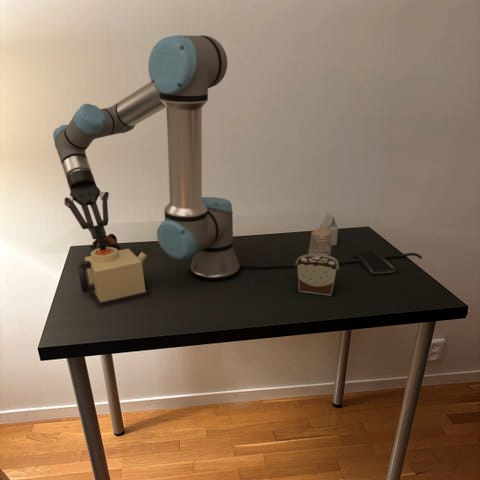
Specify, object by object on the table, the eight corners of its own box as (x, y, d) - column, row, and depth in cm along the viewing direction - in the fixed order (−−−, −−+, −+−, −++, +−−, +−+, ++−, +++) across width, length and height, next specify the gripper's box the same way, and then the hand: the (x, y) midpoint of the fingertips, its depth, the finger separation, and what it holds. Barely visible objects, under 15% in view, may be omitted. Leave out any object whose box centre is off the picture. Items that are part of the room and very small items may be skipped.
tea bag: (326, 245, 174) (328, 218, 169) (320, 239, 179) (321, 212, 174) (336, 244, 174) (338, 217, 169) (329, 238, 180) (331, 211, 175)
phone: (377, 251, 165) (397, 268, 152) (376, 254, 166) (396, 272, 153) (354, 253, 164) (372, 271, 151) (354, 256, 165) (372, 274, 152)
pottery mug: (121, 262, 165) (105, 244, 160) (99, 272, 169) (83, 254, 164) (129, 241, 174) (114, 223, 169) (108, 251, 177) (93, 233, 173)
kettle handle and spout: (143, 276, 154) (139, 242, 149) (158, 292, 144) (154, 257, 138) (78, 291, 146) (71, 256, 140) (89, 309, 136) (82, 272, 130)
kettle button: (110, 253, 144) (109, 248, 143) (115, 258, 140) (114, 252, 139) (95, 256, 142) (94, 251, 141) (99, 261, 138) (98, 256, 138)
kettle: (132, 279, 152) (127, 242, 146) (146, 294, 143) (141, 255, 137) (90, 288, 147) (83, 251, 141) (101, 305, 138) (94, 265, 132)
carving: (321, 273, 153) (323, 236, 147) (303, 266, 158) (304, 230, 152) (334, 267, 157) (337, 231, 151) (316, 261, 162) (318, 225, 156)
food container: (340, 287, 145) (343, 255, 140) (336, 296, 140) (339, 263, 135) (298, 282, 148) (300, 250, 143) (294, 290, 143) (295, 258, 138)
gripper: (100, 180, 150) (124, 249, 146) (56, 186, 145) (79, 258, 141) (102, 165, 144) (127, 237, 139) (56, 171, 138) (80, 246, 134)
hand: (103, 247), depth 140 cm, fingers closed
